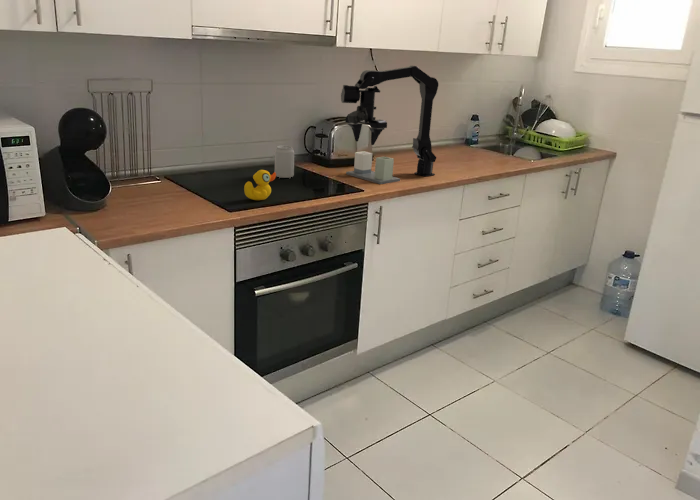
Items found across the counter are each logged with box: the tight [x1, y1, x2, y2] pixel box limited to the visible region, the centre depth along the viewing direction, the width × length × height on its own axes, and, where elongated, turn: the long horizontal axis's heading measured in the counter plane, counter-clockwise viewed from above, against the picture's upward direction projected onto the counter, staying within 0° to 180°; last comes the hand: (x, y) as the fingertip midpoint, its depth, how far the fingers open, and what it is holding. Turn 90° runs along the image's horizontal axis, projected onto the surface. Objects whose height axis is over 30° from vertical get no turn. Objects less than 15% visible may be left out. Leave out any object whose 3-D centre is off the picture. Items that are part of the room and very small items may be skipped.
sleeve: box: [353, 150, 373, 174], centre depth 238 cm, size 5×5×8 cm
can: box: [274, 145, 295, 179], centre depth 226 cm, size 8×8×12 cm
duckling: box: [243, 169, 277, 201], centre depth 193 cm, size 11×5×10 cm, turn 125°
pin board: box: [345, 156, 401, 185], centre depth 234 cm, size 11×20×9 cm, turn 42°
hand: (364, 143), depth 236 cm, fingers open, 9 cm apart
